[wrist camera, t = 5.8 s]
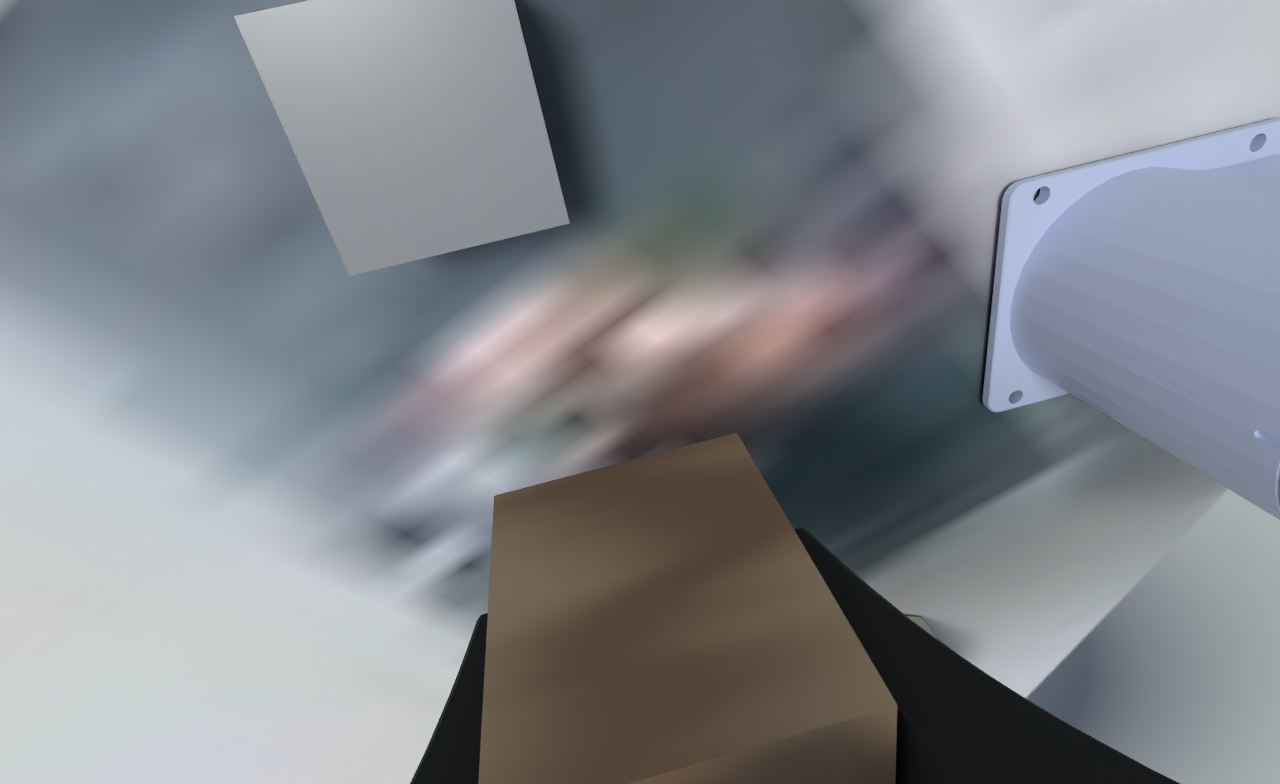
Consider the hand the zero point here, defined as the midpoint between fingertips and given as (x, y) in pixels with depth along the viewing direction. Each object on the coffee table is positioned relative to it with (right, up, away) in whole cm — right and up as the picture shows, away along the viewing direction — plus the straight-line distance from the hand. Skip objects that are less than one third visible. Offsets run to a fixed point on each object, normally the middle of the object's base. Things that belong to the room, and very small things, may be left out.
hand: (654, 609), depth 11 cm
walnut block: (0, +1, +1) cm, 1 cm away
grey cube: (-5, +11, +4) cm, 13 cm away
